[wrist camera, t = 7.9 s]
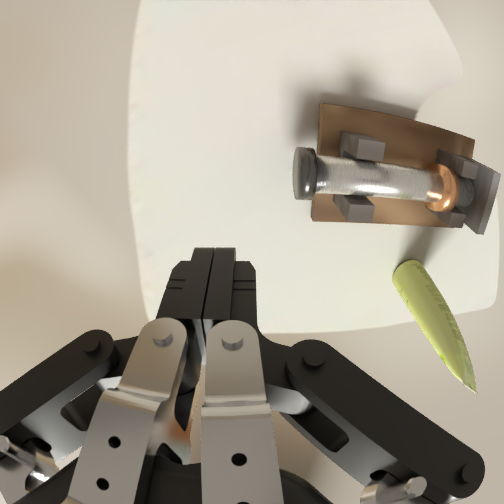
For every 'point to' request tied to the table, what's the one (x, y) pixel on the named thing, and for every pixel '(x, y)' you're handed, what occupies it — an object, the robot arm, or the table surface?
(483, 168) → the bearing board
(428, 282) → the tube
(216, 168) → the table surface
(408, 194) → the shaft
